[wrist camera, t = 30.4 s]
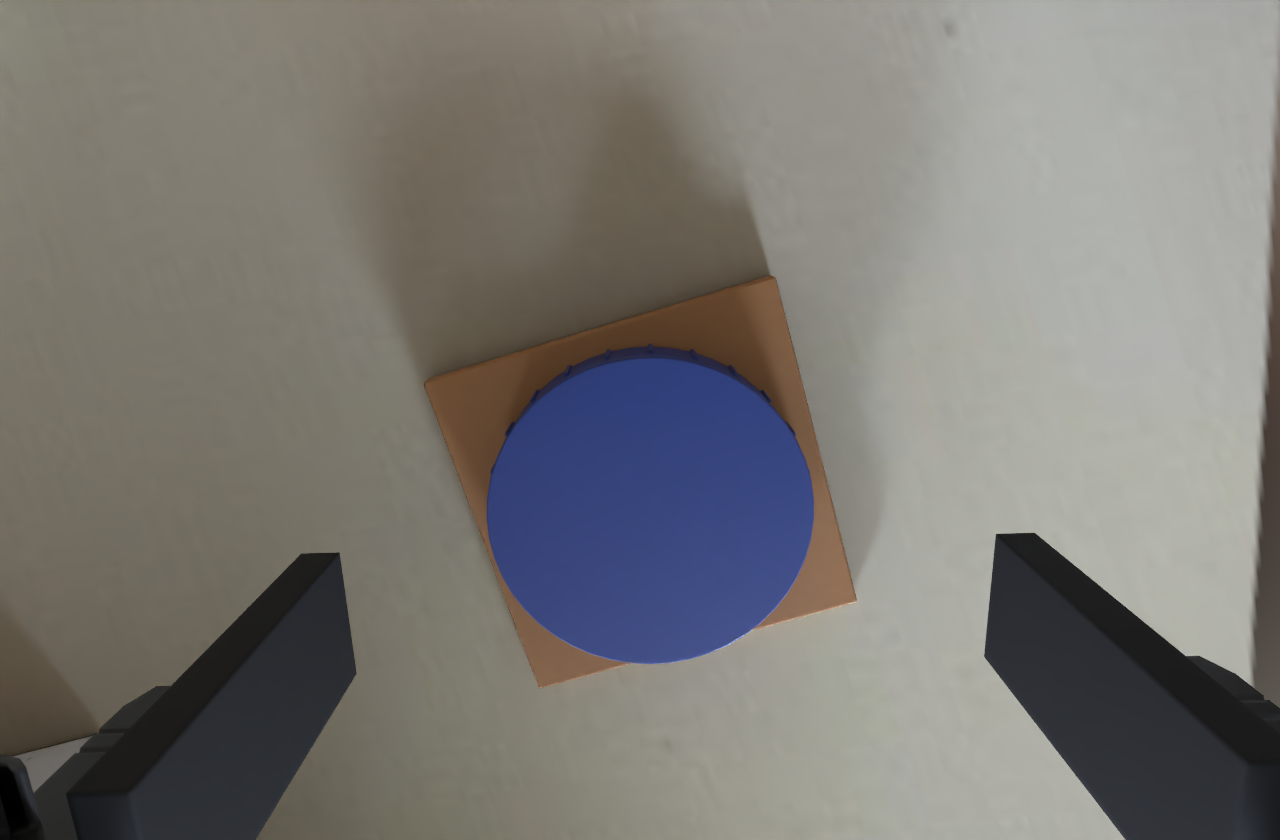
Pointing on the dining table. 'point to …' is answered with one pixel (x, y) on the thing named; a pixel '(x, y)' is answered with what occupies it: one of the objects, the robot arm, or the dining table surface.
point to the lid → (650, 506)
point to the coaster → (710, 324)
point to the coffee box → (48, 760)
